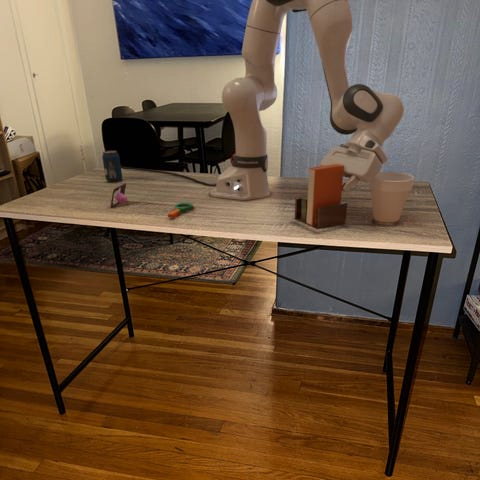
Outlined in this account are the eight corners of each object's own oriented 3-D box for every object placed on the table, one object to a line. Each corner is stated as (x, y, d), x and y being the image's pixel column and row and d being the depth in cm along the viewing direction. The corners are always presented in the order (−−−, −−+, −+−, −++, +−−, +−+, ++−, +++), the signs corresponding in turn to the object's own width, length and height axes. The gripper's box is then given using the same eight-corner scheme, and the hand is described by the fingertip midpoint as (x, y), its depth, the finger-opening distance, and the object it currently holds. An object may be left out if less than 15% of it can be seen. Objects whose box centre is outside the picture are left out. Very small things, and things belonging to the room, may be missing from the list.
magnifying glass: (179, 205, 159) (179, 200, 158) (195, 206, 157) (195, 201, 156) (161, 218, 146) (161, 213, 145) (179, 219, 145) (178, 214, 144)
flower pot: (413, 221, 139) (421, 175, 132) (395, 231, 131) (402, 183, 124) (376, 213, 146) (382, 170, 139) (357, 223, 138) (362, 177, 131)
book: (305, 223, 135) (308, 167, 127) (332, 217, 139) (337, 163, 131) (311, 226, 133) (315, 169, 125) (339, 220, 137) (344, 165, 129)
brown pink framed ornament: (123, 182, 163) (111, 188, 156) (136, 187, 163) (125, 194, 155) (120, 199, 167) (108, 206, 159) (133, 205, 167) (121, 212, 159)
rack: (293, 222, 140) (293, 197, 137) (321, 216, 145) (323, 192, 141) (316, 233, 131) (318, 206, 127) (346, 226, 136) (348, 200, 132)
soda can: (118, 178, 200) (113, 149, 194) (125, 180, 195) (121, 151, 189) (103, 181, 196) (98, 151, 190) (110, 183, 191) (106, 153, 185)
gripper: (333, 136, 137) (305, 173, 138) (382, 145, 122) (350, 187, 123) (343, 150, 141) (316, 186, 142) (392, 160, 126) (361, 201, 127)
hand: (332, 187), depth 132 cm, fingers open, 8 cm apart
